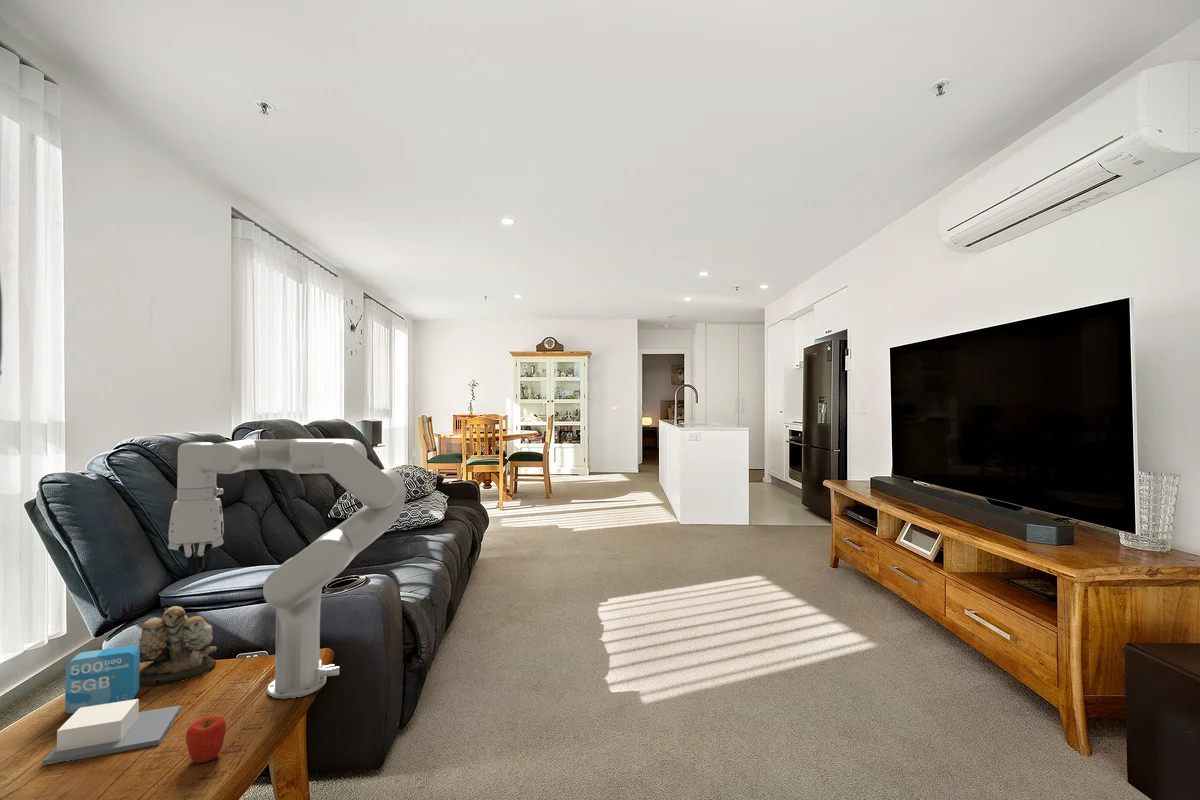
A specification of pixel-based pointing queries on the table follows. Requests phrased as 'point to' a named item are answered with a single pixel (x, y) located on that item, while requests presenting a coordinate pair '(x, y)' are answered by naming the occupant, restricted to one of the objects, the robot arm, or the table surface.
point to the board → (126, 736)
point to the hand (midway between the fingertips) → (195, 572)
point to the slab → (97, 724)
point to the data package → (102, 677)
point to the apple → (205, 738)
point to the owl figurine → (175, 648)
